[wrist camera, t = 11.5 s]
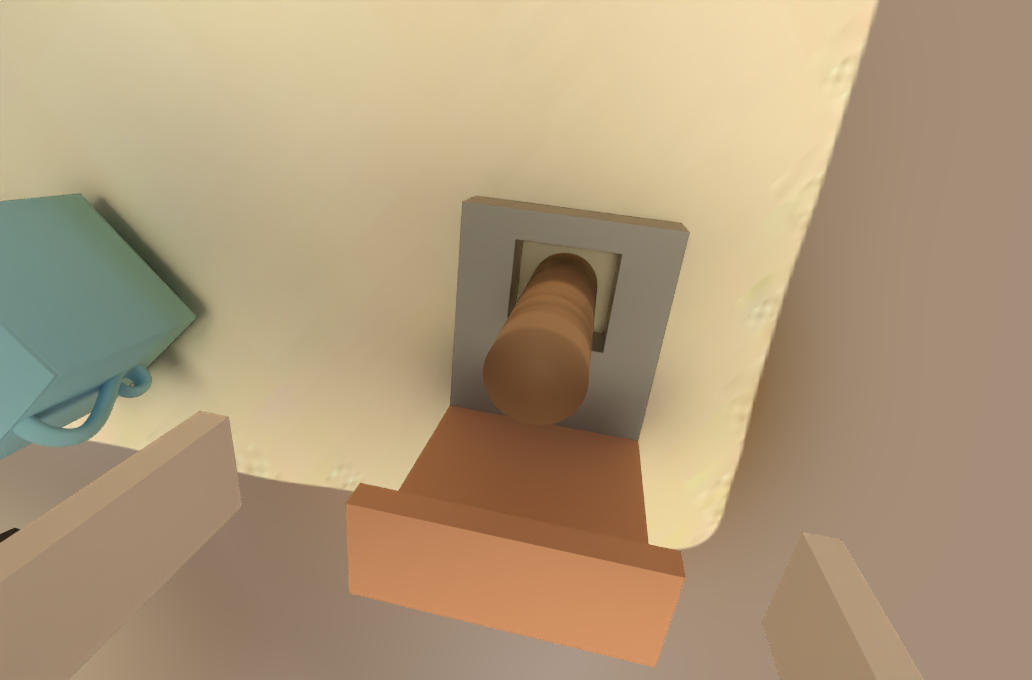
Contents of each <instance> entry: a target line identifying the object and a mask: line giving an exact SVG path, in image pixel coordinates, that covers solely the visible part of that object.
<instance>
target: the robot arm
mask: <svg viewBox="0 0 1032 680" xmlns="http://www.w3.org/2000/svg"><path fill="white" fill-rule="evenodd" d="M241 507H242V501H241V494H240V488H239V481H238V475H237V468H236V461H235V455H234V448H233V442H232V435H231V429H230V422H229V417H227V416H222V415H217V414H212V413H207V412H202V411H199V412H198V413H196V414H195V415H193V416H192V417H190V418H189V419H187V420H186V421H184V422H182V423H181V424H179V425H178V426H176V427H175V428H173V429H172V430H170V431H169V432H167V433H166V434H164V435H163V436H161V437H160V438H158V439H157V440H155V441H154V442H152V443H151V444H149V445H148V446H146V447H145V448H143V449H142V450H140V451H139V452H137V453H136V454H134V455H133V456H131V457H130V458H128V459H127V460H125V461H123V462H122V463H120V464H119V465H118V466H116V467H114V468H113V469H111V470H110V471H108V472H107V473H105V474H104V475H102V476H101V477H99V478H98V479H96V480H95V481H93V482H92V483H90V484H89V485H87V486H86V487H84V488H83V489H81V490H80V491H78V492H77V493H75V494H74V495H72V496H71V497H69V498H67V499H66V500H65V501H63V502H61V503H60V504H58V505H57V506H55V507H54V508H52V509H51V510H49V511H48V512H46V513H45V514H43V515H42V516H40V517H39V518H37V519H36V520H34V521H33V522H31V523H30V524H28V525H27V526H25V527H24V528H22V529H17V528H13V529H11V530H9V531H6V532H4V533H2V534H0V680H69V679H70V678H71V677H72V675H74V673H76V671H78V669H80V668H81V667H82V666H83V665H84V664H85V663H86V662H87V660H89V658H91V657H92V656H93V655H94V654H95V653H96V652H97V650H99V649H100V648H101V646H102V645H103V644H104V643H106V642H107V640H109V639H110V638H111V637H112V636H113V635H114V634H115V633H116V632H117V631H118V629H119V628H121V627H122V626H123V625H124V624H125V623H126V621H128V620H129V619H130V618H131V617H132V616H133V615H134V614H135V613H136V612H137V611H138V610H139V609H140V608H141V607H142V606H143V605H144V604H145V603H146V601H148V600H149V599H150V598H151V597H152V596H153V595H154V593H156V592H157V591H158V590H159V589H160V588H161V587H162V586H163V585H164V584H165V583H166V582H167V581H168V580H169V579H170V578H171V577H172V576H173V575H174V574H175V573H176V572H177V571H178V570H179V569H180V568H181V567H182V566H183V565H184V564H185V563H186V562H187V561H188V560H189V559H190V558H191V557H192V556H193V555H194V553H196V552H197V551H198V550H199V549H200V548H201V547H202V546H203V545H204V544H205V543H206V542H207V541H208V540H209V539H210V538H211V537H212V536H213V535H214V534H215V533H216V532H217V531H218V530H219V529H220V528H221V527H222V526H223V525H224V524H225V523H226V521H228V520H229V519H230V518H231V517H232V516H233V515H234V514H235V513H236V512H237V511H238V510H239V509H240V508H241ZM762 624H763V627H764V630H765V634H766V637H767V640H768V643H769V646H770V649H771V652H772V655H773V658H774V661H775V665H776V668H777V670H778V674H779V677H780V680H924V679H923V677H922V675H921V674H920V672H919V671H918V669H917V667H916V665H915V664H914V662H913V660H912V659H911V657H910V655H909V653H908V652H907V650H906V648H905V647H904V645H903V643H902V642H901V640H900V638H899V636H898V635H897V633H896V631H895V630H894V628H893V626H892V625H891V623H890V621H889V620H888V618H887V616H886V615H885V613H884V611H883V609H882V608H881V606H880V604H879V603H878V601H877V599H876V598H875V596H874V594H873V592H872V591H871V589H870V587H869V586H868V584H867V582H866V581H865V579H864V577H863V576H862V574H861V572H860V570H859V569H858V567H857V565H856V564H855V562H854V560H853V559H852V557H851V555H850V554H849V552H848V550H847V548H846V547H845V545H844V543H843V542H842V540H841V539H836V538H830V537H825V536H820V535H816V534H810V533H806V532H802V534H801V536H800V539H799V541H798V543H797V545H796V547H795V549H794V552H793V554H792V556H791V559H790V561H789V563H788V565H787V567H786V570H785V572H784V574H783V576H782V578H781V581H780V583H779V585H778V587H777V590H776V592H775V594H774V596H773V598H772V601H771V603H770V606H769V607H768V610H767V612H766V614H765V616H764V619H763V621H762Z"/></svg>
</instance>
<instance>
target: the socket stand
mask: <svg viewBox="0 0 1032 680" xmlns="http://www.w3.org/2000/svg"><path fill="white" fill-rule="evenodd" d="M689 233H690V232H689V231H688V230H687V229H686V228H685V227H684V226H683V224H682V223H675V222H668V221H660V220H653V219H645V218H638V217H630V216H623V215H615V214H608V213H600V212H593V211H585V210H578V209H570V208H563V207H555V206H548V205H540V204H533V203H525V202H518V201H510V200H503V199H495V198H488V197H480V196H475V197H472V198H470V199H467V200H465V201H462V217H461V234H460V250H459V267H458V283H457V300H456V316H455V333H454V349H453V365H452V382H451V398H450V406H449V408H448V410H447V411H446V413H445V415H444V416H443V418H442V420H441V421H440V423H439V425H438V426H437V428H436V430H435V431H434V433H433V435H432V436H431V438H430V439H429V441H428V443H427V444H426V446H425V448H424V449H423V451H422V453H421V454H420V456H419V458H418V459H417V461H416V463H415V464H414V466H413V468H412V469H411V471H410V473H409V474H408V476H407V478H406V479H405V481H404V483H403V484H402V486H401V488H400V489H399V491H396V490H391V489H386V488H381V487H377V486H372V485H367V484H363V483H360V484H359V485H358V487H357V488H356V490H355V491H354V492H353V494H352V495H351V497H350V498H349V499H348V501H347V502H346V527H347V552H348V575H349V593H351V594H355V595H359V596H363V597H367V598H372V599H376V600H380V601H384V602H388V603H392V604H396V605H400V606H404V607H409V608H413V609H417V610H421V611H425V612H429V613H434V614H437V615H442V616H446V617H450V618H454V619H458V620H462V621H466V622H470V623H474V624H478V625H483V626H487V627H491V628H495V629H499V630H503V631H508V632H511V633H515V634H520V635H524V636H528V637H532V638H536V639H540V640H544V641H549V642H553V643H557V644H561V645H565V646H569V647H573V648H577V649H581V650H586V651H590V652H594V653H598V654H602V655H606V656H610V657H615V658H619V659H622V660H627V661H631V662H635V663H639V664H644V665H647V666H651V667H655V666H656V663H657V660H658V657H659V654H660V651H661V648H662V646H663V643H664V640H665V637H666V633H667V631H668V628H669V625H670V622H671V619H672V616H673V613H674V610H675V607H676V604H677V601H678V598H679V595H680V592H681V590H682V587H683V583H684V581H685V573H684V567H683V561H682V556H681V551H677V550H672V549H667V548H663V547H658V546H653V545H649V544H648V534H647V524H646V514H645V505H644V495H643V485H642V475H641V465H640V455H639V445H638V439H639V435H640V431H641V427H642V423H643V419H644V415H645V411H646V407H647V403H648V399H649V395H650V391H651V387H652V383H653V378H654V374H655V370H656V366H657V362H658V358H659V354H660V350H661V346H662V342H663V338H664V334H665V330H666V326H667V322H668V318H669V314H670V310H671V306H672V302H673V298H674V293H675V289H676V285H677V281H678V277H679V273H680V269H681V265H682V261H683V257H684V253H685V249H686V245H687V241H688V237H689ZM523 240H526V241H533V242H540V243H547V244H554V245H561V246H568V247H575V248H582V249H589V250H596V251H603V252H610V253H617V254H619V257H618V262H617V267H616V273H615V278H614V283H613V288H612V293H611V299H610V304H609V309H608V314H607V319H606V324H605V330H604V334H599V333H593V339H592V350H591V361H590V372H589V383H588V390H587V394H586V397H585V399H584V401H583V403H582V404H581V406H580V407H579V408H578V409H577V410H576V411H575V412H574V413H573V414H572V415H571V416H569V417H568V418H566V419H564V420H562V421H560V422H557V423H553V424H549V425H531V424H526V423H522V422H519V421H516V420H514V419H512V418H510V417H508V416H507V415H505V414H504V413H503V412H502V411H500V410H499V409H498V408H497V407H496V406H495V405H494V403H493V402H492V401H491V399H490V398H489V396H488V394H487V392H486V389H485V386H484V382H483V365H484V361H485V358H486V356H487V354H488V352H489V350H490V349H491V347H492V345H493V343H494V342H495V340H496V338H497V336H498V335H499V333H500V331H501V329H502V328H503V326H504V324H505V323H506V321H507V319H508V317H509V316H510V314H511V312H512V310H513V309H514V307H515V305H516V299H517V290H518V281H519V272H520V264H521V255H522V246H523Z"/></svg>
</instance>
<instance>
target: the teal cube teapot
mask: <svg viewBox="0 0 1032 680" xmlns="http://www.w3.org/2000/svg"><path fill="white" fill-rule="evenodd" d="M196 318H197V316H196V315H195V314H194V313H193V312H192V311H191V310H190V309H189V308H188V307H187V306H186V304H185V303H184V302H183V301H182V300H181V299H180V298H179V297H178V296H177V295H176V294H175V293H174V292H173V291H172V290H171V289H170V288H169V287H168V285H167V284H166V283H165V282H164V281H163V280H162V279H161V278H160V277H159V276H158V275H157V274H156V273H155V272H154V271H153V270H152V269H151V268H150V266H149V265H148V264H147V263H146V262H145V261H144V260H143V259H142V258H141V257H140V256H139V255H138V254H137V253H136V252H135V251H134V250H133V249H132V248H131V246H130V245H129V244H128V243H127V242H126V241H125V240H124V239H123V238H122V237H121V236H120V235H119V234H118V233H117V232H116V230H115V229H113V227H112V226H111V225H110V224H109V223H108V222H107V221H106V220H105V219H104V218H103V217H102V216H101V215H100V214H99V213H98V212H97V211H96V210H95V208H94V207H93V206H92V205H91V204H90V203H89V202H88V201H87V200H86V199H85V198H84V197H83V196H82V195H81V194H72V195H61V196H51V197H40V198H30V199H19V200H9V201H0V459H2V458H4V457H6V456H8V455H10V454H12V453H14V452H15V451H17V450H20V449H21V448H23V447H25V446H27V445H29V444H31V443H34V444H38V445H42V446H49V447H67V446H73V445H76V444H80V443H82V442H84V441H86V440H88V439H90V438H91V437H93V436H94V435H95V434H96V433H98V431H99V430H100V429H101V428H102V427H103V426H104V424H105V423H106V421H107V419H108V417H109V415H110V413H111V411H112V408H113V406H114V403H115V400H116V398H117V397H118V396H119V395H120V396H122V397H125V398H133V397H137V396H140V395H142V394H143V393H145V392H146V391H147V390H148V389H149V387H150V386H151V383H152V377H151V374H150V373H149V371H148V370H147V367H148V366H149V365H150V364H151V363H152V362H153V361H154V360H155V359H156V358H157V357H158V356H159V355H160V354H161V353H162V352H163V351H164V350H165V349H166V348H167V347H168V346H169V345H170V344H171V343H172V342H173V341H174V340H175V339H176V338H177V337H178V336H179V335H180V334H181V333H182V332H183V331H184V330H185V329H186V328H187V327H188V326H189V325H190V324H191V323H192V322H193V321H194V320H195V319H196ZM132 382H133V383H134V385H135V386H133V387H131V386H129V385H130V384H131V383H132ZM89 413H91V414H90V416H89V417H88V419H87V420H86V421H85V423H84V424H83V425H81V426H80V427H78V428H74V429H65V428H62V427H64V426H66V425H68V424H70V423H71V422H73V421H75V420H77V419H79V418H81V417H83V416H85V415H87V414H89Z"/></svg>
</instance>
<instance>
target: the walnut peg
mask: <svg viewBox="0 0 1032 680" xmlns="http://www.w3.org/2000/svg"><path fill="white" fill-rule="evenodd" d="M596 294H597V278H596V275H595V272H594V270H593V269H592V267H591V266H590V264H589V263H588V262H587V261H586V260H584V259H583V258H581V257H579V256H577V255H574V254H570V253H559V254H555V255H552V256H550V257H548V258H546V259H545V260H544V261H542V262H541V264H540V265H539V266H538V267H537V269H536V271H535V272H534V274H533V276H532V278H531V279H530V281H529V283H528V284H527V286H526V288H525V290H524V291H523V293H522V295H521V297H520V298H519V300H518V302H517V304H516V305H515V307H514V309H513V310H512V312H511V314H510V316H509V317H508V319H507V321H506V323H505V324H504V326H503V328H502V329H501V331H500V333H499V335H498V336H497V338H496V340H495V342H494V343H493V345H492V347H491V349H490V350H489V352H488V354H487V356H486V358H485V361H484V365H483V382H484V386H485V389H486V392H487V394H488V396H489V398H490V399H491V401H492V402H493V403H494V405H495V406H496V407H497V408H498V409H499V410H500V411H502V412H503V413H504V414H505V415H507V416H508V417H510V418H512V419H514V420H516V421H519V422H522V423H526V424H531V425H549V424H553V423H557V422H560V421H562V420H564V419H566V418H568V417H569V416H571V415H572V414H573V413H574V412H575V411H576V410H577V409H578V408H579V407H580V406H581V404H582V403H583V401H584V399H585V397H586V394H587V390H588V383H589V372H590V361H591V350H592V339H593V327H594V316H595V305H596Z"/></svg>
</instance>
